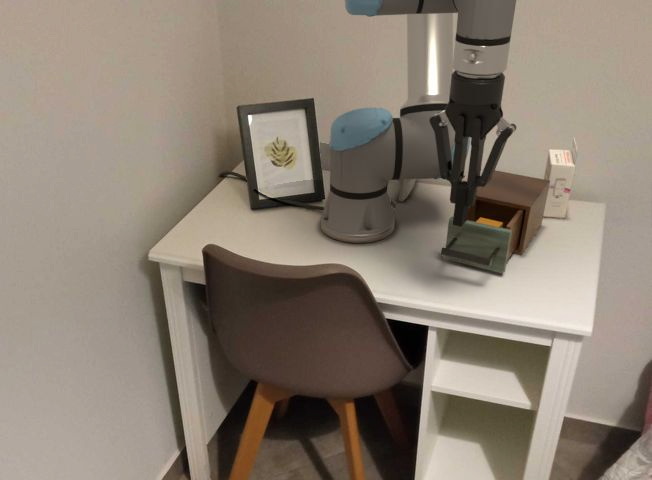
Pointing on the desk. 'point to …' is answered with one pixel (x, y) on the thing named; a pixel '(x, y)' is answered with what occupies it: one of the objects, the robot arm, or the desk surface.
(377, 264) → the desk surface
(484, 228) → the drawer
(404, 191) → the cassette
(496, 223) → the block
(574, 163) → the ink cartridge box
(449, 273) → the desk surface
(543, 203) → the cabinet
